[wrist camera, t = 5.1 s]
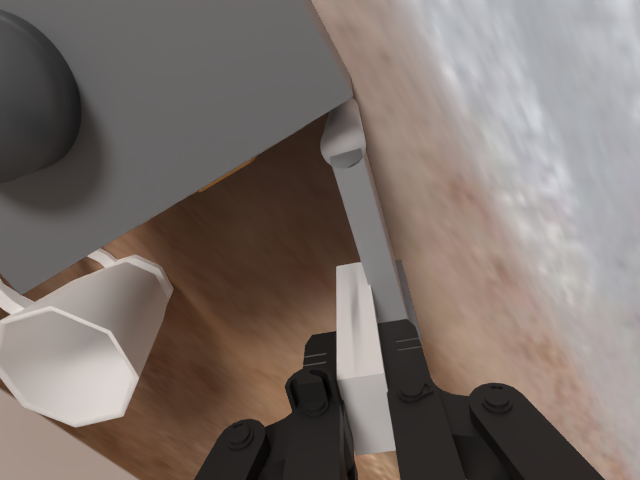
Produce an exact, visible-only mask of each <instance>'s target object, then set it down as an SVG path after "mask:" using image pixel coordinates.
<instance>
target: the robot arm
mask: <svg viewBox="0 0 640 480" xmlns="http://www.w3.org/2000/svg"><path fill="white" fill-rule="evenodd" d="M336 304H337V331H334V332H328V333H322V334H316V335H312V336H311V337H310V339H309V340H308V342H307V343H306V345H305V352H304V362H303V366H304V367H303V369H301V370H299V371H298V372H296V373H294V374H293V375H292V376H291V377H290V378H289V379H288V380H287V383H286V385H285V389H286V393H287V396H288V399H289V402H290V405H291V409H292V413H291V414H290V415H288V416H287V417H286V418H284V419H282V420H280V421H278V422H276V423H274V424H271V425H269V426H266V427H264V425H263V424H261V423H260V422H259V421H257V420H253V419H246V420H241V421H238V422H236V423H233V424H232V425H230V426H229V427H228V428H226V429H225V430H224V431H223V432H222V434H221V435H220V436H219V438H218V439H217V441H216V443H215V445H214V446H213V448H212V450H211V451H210V453H209V455H208V457H207V458H206V460H205V462H204V464H203V465H202V467H201V469H200V470H199V472H198V474H197V476H196V477H195V479H194V480H358V473H357V469H356V465H355V461H354V450H355V454H356V455H363V454H371V453H380V452H388V451H396V454H397V460H398V466H399V472H400V478H401V480H466V479H467V480H605V479H604V478H603V477H602V476H601V475H600V474H599V473H598V472H597V471H596V470H595V469H594V468H593V467H592V466H591V465H590V464H589V463H588V462H587V461H586V460H585V459H584V457H583V456H582V455H581V454H580V453H579V452H578V451H577V450H576V449H575V448H574V447H573V446H572V445H571V444H570V443H569V442H568V441H567V440H566V439H565V438H564V437H563V436H562V435H561V434H560V433H559V432H558V431H557V429H556V428H555V427H554V426H553V425H552V424H551V423H550V422H549V421H548V420H547V419H546V418H545V417H544V416H543V415H542V414H541V413H540V412H539V411H538V410H537V409H536V408H535V407H534V406H533V405H532V404H531V403H530V401H529V400H528V399H527V398H526V397H525V396H524V395H523V394H522V393H520V392H519V391H518V390H516V389H515V388H514V387H511V386H508V385H505V384H501V383H488V384H483V385H481V386H479V387H477V388H475V389H474V390H473V391H472V393H471V394H470V396H462V395H455V394H450V393H448V392H445V391H443V390H441V389H440V388H438V387H437V386H436V385H435V384H434V383H433V381H432V379H431V377H430V374H429V370H428V367H427V363H426V360H425V357H424V353H423V350H422V347H421V343H420V340H419V336H418V333H417V330H416V327H415V326H414V325H413V324H412V323H411V322H410V321H409V320H408V319H402V320H396V321H390V322H384V323H379V322H378V316H377V312H376V309H375V305H374V300H373V295H372V290H371V285H368V283H367V279H366V276H365V273H364V270H363V266H362V263H361V262H358V263H352V264H346V265H341V266H336Z"/></svg>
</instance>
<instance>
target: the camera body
mask: <svg viewBox="0 0 640 480" xmlns="http://www.w3.org/2000/svg"><path fill="white" fill-rule="evenodd" d="M352 97H353V90H352V84H351V77H350V74H349V72H348V70H347V68H346V67H345V65H344V63H343V61H342V59H341V57H340V55H339V53H338V51H337V49H336V48H335V46H334V44H333V42H332V40H331V38H330V36H329V34H328V32H327V30H326V28H325V27H324V25H323V23H322V21H321V19H320V17H319V15H318V13H317V11H316V9H315V8H314V6H313V4H312V2H311V0H0V274H1V275H2V276H3V277H4V278H5V279H6V280H7V281H8V283H9V284H10V285H11V286H12V287H13V288H14V289H15V290H16V291H17V292H18V293H19V294H20V295H22V294H24V293H26V292H27V291H29V290H31V289H32V288H34V287H36V286H38V285H39V284H41V283H43V282H44V281H46V280H48V279H49V278H51V277H53V276H54V275H56V274H58V273H59V272H61V271H63V270H64V269H66V268H68V267H69V266H71V265H73V264H74V263H76V262H78V261H79V260H81V259H83V258H84V257H86V256H88V255H89V254H91V253H93V252H94V251H96V250H98V249H99V248H101V247H103V246H104V245H106V244H108V243H109V242H111V241H113V240H115V239H116V238H118V237H120V236H121V235H123V234H125V233H126V232H128V231H130V230H131V229H133V228H136V227H138V226H140V225H141V224H143V223H145V222H147V221H148V220H150V219H152V218H153V217H155V216H157V215H158V214H160V213H162V212H163V211H165V210H167V209H168V208H170V207H172V206H173V205H175V204H177V203H178V202H180V201H182V200H183V199H185V198H187V197H188V196H190V195H192V194H193V193H195V192H197V191H199V192H200V193H201V192H202V191H204V190H206V189H207V188H209V187H211V186H212V185H214V184H216V183H217V182H219V181H221V180H222V179H224V178H226V177H227V176H229V175H231V174H232V173H234V172H236V171H238V170H239V169H241V168H243V167H244V166H246V165H248V164H249V163H251V162H253V161H254V159H255V158H256V157H257V156H258V155H259V154H260V153H262V152H264V151H266V150H267V149H269V148H271V147H272V146H274V145H276V144H277V143H279V142H281V141H282V140H284V139H286V138H287V137H289V136H291V135H292V134H294V133H296V132H297V131H299V130H301V129H302V128H304V126H305V125H307V124H309V123H310V122H312V121H314V120H315V119H317V118H319V117H320V116H322V115H324V114H325V113H327V112H329V111H330V110H332V109H334V108H335V107H337V106H339V105H340V104H342V103H344V102H346V101H347V100H349V99H351V98H352Z"/></svg>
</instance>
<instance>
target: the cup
mask: <svg viewBox="0 0 640 480" xmlns="http://www.w3.org/2000/svg"><path fill="white" fill-rule="evenodd" d="M87 257H89V258H91V259H94V260H96V261H98V262H99V263H101V264H102V265H103V266H104V267H105V268H104V269H101V270H98V271H96V272H93V273H90V274H88V275H85V276H83V277H80V278H78V279H75V280H73V281H71V282H69V283H67V284H66V285H64V286H62V287H60V288H59V289H57V290H55V291H53V292H52V293H50V294H48V295H46V296H44V297H43V298H41V299H39V300H37V301H35V302H34V301H32V300H30V299H28V298H26V297H24V296H22V295H20V294H19V293H17V292H16V291H14V290H13V289H11V288H9V287H8V286H6V285H4V284H3V282H2V281H1V279H0V307H1V308H2V309H3V310H5V311H6V312H8V313H10V314H11V315H9V316H7V317H6V318H4V319H2V320H0V378H1V379H2V381H3V382H4V383H5V385H6V386H7V387H8V389H9V390H10V391H11V393H12V394H13V395H14V397H15V398H16V399H17V401H18V402H19V403H20V405H21V406H22V407H24V408H26V409H29V410H32V411H34V412H37V413H39V414H42V415H44V416H47V417H50V418H52V419H55V420H57V421H60V422H63V423H65V424H68V425H70V426H73V427H81V426H85V425H89V424H93V423H98V422H102V421H106V420H111V419H115V418H119V417H123V416H124V413H125V411H126V409H127V406H128V404H129V402H130V399H131V397H132V394H133V392H134V390H135V387H136V385H137V382H138V380H139V378H140V375H141V373H142V370H143V368H144V366H145V363H146V361H147V358H148V356H149V353H150V351H151V348H152V346H153V344H154V341H155V339H156V336H157V334H158V332H159V329H160V327H161V324H162V322H163V320H164V315H165V311H166V306H167V304H168V302H169V299H170V297H171V294H172V292H173V290H174V289H173V287H172V285H171V283H170V281H169V279H168V277H167V275H166V273H165V271H164V269H163V268H162V266H160V265H158V264H156V263H154V262H151V261H149V260H147V259H145V258H143V257H140V256H138V255H136V254H135V255H132V256H129V257H126V258H122V259H119V260H117V259H116V258H114V257H113V256H112V255H111V254H110V253H109V252H107V251H105V250H103V249H101V248H99V249H98V250H96V251H94V252H93V253H91V254H89V255H88V256H87Z"/></svg>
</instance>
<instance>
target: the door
mask: <svg viewBox="0 0 640 480" xmlns="http://www.w3.org/2000/svg"><path fill="white" fill-rule="evenodd" d="M320 148H321V153H322V156H323V158H324V159H325V160H326V162H327V163H329V164H330V165H331V166H332V167H333V171H334V174H335V177H336V180H337V184H338V187H339V190H340V194H341V197H342V200H343V204H344V207H345V210H346V213H347V217H348V220H349V223H350V227H351V230H352V233H353V237H354V240H355V243H356V246H357V250H358V253H359V256H360V260H361V263H362V266H363V270H364V273H365V276H366V279H367V283H368V285H371V290H372V295H373V300H374V305H375V309H376V312H377V316H378V319H379V322H380V323H384V322H390V321H396V320H402V319H408V320H409V321H410V322H411V323H412V324H413V325H414V326H415V327H416V330H417V333H418V336H419V340H420V341H422V338H421V334H420V331H419V327H418V323H417V319H416V315H415V311H414V308H413V304H412V300H411V296H410V292H409V288H408V285H407V281H406V277H405V273H404V269H403V265H402V262H401V260H397V261H396V260H395V256H394V252H393V249H392V245H391V241H390V238H389V234H388V230H387V227H386V223H385V219H384V215H383V212H382V208H381V204H380V201H379V197H378V193H377V190H376V186H375V182H374V178H373V175H372V171H371V167H370V164H369V160H368V156H367V152H366V141H365V136H364V131H363V126H362V122H361V117H360V112H359V107H358V104H357V102H356V100H355V99H354V98H351V99H349V100H347V101H346V102H344V103H342V104H340V105H339V106H337V107H335V108H334V109H332V110H330V111H329V114H328V118H327V121H326V125H325V128H324V132H323V135H322V139H321V143H320Z"/></svg>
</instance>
